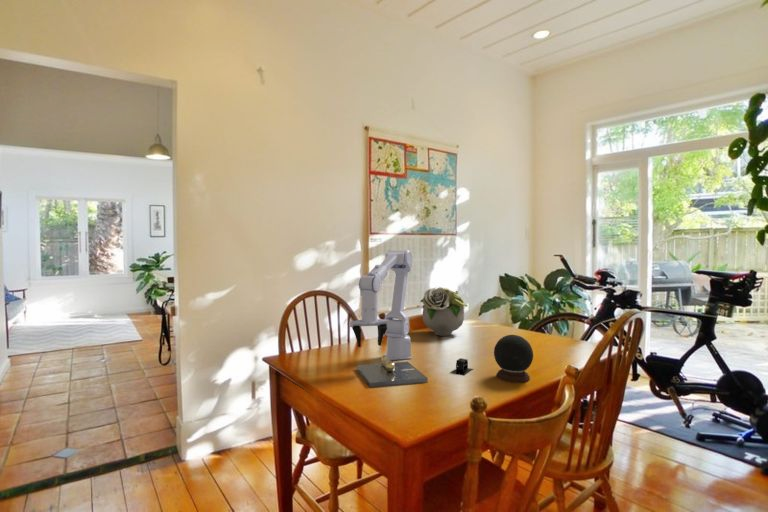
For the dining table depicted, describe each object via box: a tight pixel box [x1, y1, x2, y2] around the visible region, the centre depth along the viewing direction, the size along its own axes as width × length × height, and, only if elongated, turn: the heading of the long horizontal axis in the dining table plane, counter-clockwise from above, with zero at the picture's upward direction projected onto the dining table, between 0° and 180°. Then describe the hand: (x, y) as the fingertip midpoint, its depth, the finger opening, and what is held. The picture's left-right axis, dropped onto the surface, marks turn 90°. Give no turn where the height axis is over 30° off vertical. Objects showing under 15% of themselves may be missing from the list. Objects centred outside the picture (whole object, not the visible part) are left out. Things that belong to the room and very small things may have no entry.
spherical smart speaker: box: [493, 334, 534, 384], centre depth 146 cm, size 13×13×15 cm
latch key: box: [380, 355, 395, 372], centre depth 151 cm, size 11×3×2 cm, turn 16°
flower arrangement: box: [420, 287, 469, 337], centre depth 214 cm, size 25×25×24 cm
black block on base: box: [449, 358, 474, 377], centre depth 154 cm, size 12×7×5 cm, turn 145°
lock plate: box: [356, 361, 429, 388], centre depth 147 cm, size 20×20×2 cm
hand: (369, 345), depth 151 cm, fingers open, 7 cm apart
